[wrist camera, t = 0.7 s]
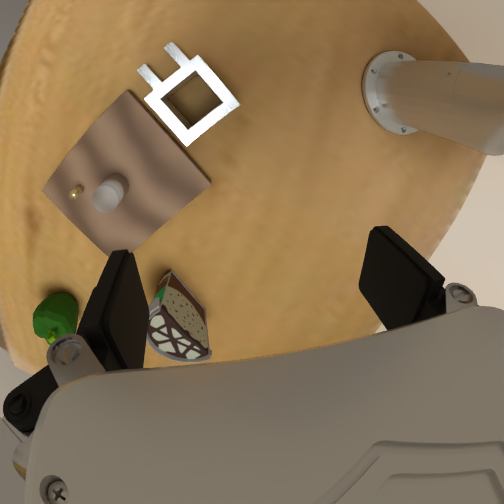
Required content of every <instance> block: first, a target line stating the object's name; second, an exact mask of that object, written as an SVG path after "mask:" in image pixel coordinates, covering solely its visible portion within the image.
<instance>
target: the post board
mask: <svg viewBox="0 0 504 504" xmlns="http://www.w3.org/2000/svg"><path fill="white" fill-rule="evenodd" d="M78 185H83V187H84V191H83V193H82V194H80V195H79V196H78V197H77V198H76V199H75V200H71V199H70V198H69V192H70V191H72V190H73V189H74V188H75V187H76V186H78ZM210 185H211V180H210V179H209V178H208V177H207V176H206V174H205V173H204V172H203V171H202V170H201V169H200V168H199V167H198V165H197V164H196V163H195V162H194V161H193V160H192V159H191V157H190V156H189V155H188V154H187V153H186V152H185V151H184V150H183V149H182V147H181V146H180V145H179V144H178V143H177V142H176V141H175V140H174V138H173V137H172V136H171V135H170V134H169V133H168V132H167V131H166V130H165V128H164V127H163V126H162V125H161V124H160V123H159V122H158V121H157V120H156V118H155V117H154V116H153V115H152V114H151V113H150V112H149V111H148V110H147V109H146V107H145V106H144V105H143V104H142V103H141V102H140V101H139V100H138V99H137V98H136V96H135V95H134V94H133V93H132V92H131V91H130V90H126V91H125V92H124V93H123V94H122V95H121V96H120V97H119V98H118V99H117V100H116V101H115V102H114V103H113V104H112V105H111V106H110V107H109V108H108V109H107V110H106V111H105V112H104V113H103V114H102V115H101V116H100V117H99V118H98V120H97V121H96V122H95V123H94V124H93V125H92V126H91V127H90V128H89V130H88V131H87V132H86V133H85V134H84V135H83V137H82V138H81V139H80V140H79V141H78V143H77V144H76V145H75V146H74V147H73V149H72V150H71V151H70V152H69V154H68V155H67V156H66V158H65V159H64V160H63V162H62V163H61V164H60V166H59V167H58V168H57V170H56V171H55V172H54V174H53V175H52V177H51V178H50V179H49V181H48V182H47V184H46V185H45V187H44V188H43V190H42V192H43V193H44V194H45V195H46V196H47V197H48V198H49V199H50V200H51V201H52V202H53V203H54V204H55V205H56V206H57V207H58V208H59V210H60V211H61V212H62V213H63V214H64V215H65V216H66V217H67V218H68V219H69V220H70V221H71V222H72V223H73V224H74V225H75V226H76V227H77V228H78V229H79V230H80V231H81V232H83V233H84V234H85V235H86V236H87V237H88V238H89V239H90V240H91V241H92V242H93V243H94V244H95V245H96V246H97V247H98V248H99V249H101V250H102V251H103V252H104V253H105V254H106V255H107V256H108V257H110V255H111V253H112V251H114V250H123V249H127V250H128V251H129V253H131V252H133V251H134V250H135V249H136V248H137V247H139V246H140V245H141V244H142V243H143V242H144V241H145V240H146V239H147V238H149V237H150V236H151V235H152V234H153V233H154V232H155V231H156V230H158V229H159V228H160V227H161V226H162V225H163V224H164V223H166V222H167V221H168V220H169V219H170V218H171V217H173V216H174V215H175V214H176V213H177V212H179V211H180V210H181V209H182V208H183V207H184V206H186V205H187V204H188V203H189V202H190V201H192V200H193V199H194V198H195V197H197V196H198V195H199V194H200V193H202V192H203V191H204V190H205V189H206V188H208V187H209V186H210Z"/></svg>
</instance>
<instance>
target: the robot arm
mask: <svg viewBox="0 0 504 504" xmlns="http://www.w3.org/2000/svg"><path fill="white" fill-rule="evenodd" d="M371 70H372V71H371ZM362 91H363V98H364V101H365V104H366V107H367V109H368V111H369V113H370V115H371V116H372V117H373V119H374V120H375V121H376V122H377V123H378V124H379V125H380V126H381V127H383V128H384V129H385V130H387V131H390V132H392V133H396V134H400V135H407V134H412V133H414V132H417V131H418V130H421V131H424V132H427V133H430V134H433V135H436V136H439V137H442V138H445V139H448V140H450V141H453V142H456V143H458V144H461V145H464V146H466V147H469V148H471V149H473V150H476V151H478V152H481V153H484V154H487V155H502V154H504V66H500V65H490V64H482V63H469V62H456V61H417V60H416V59H415V58H414V57H412V56H410V55H409V54H407V53H404V52H400V51H387V52H383V53H380V54H379V55H377V56H375V57H374V58H373V59H372V60H371V61H370V63H369V64H368V65H367V67H366V70H365V72H364V76H363V81H362ZM373 109H374V110H373ZM444 281H445V278H444V277H443V276H442V275H441V274H440V273H439V272H438V271H437V270H436V269H435V268H434V267H433V266H432V265H431V264H430V263H429V262H428V261H427V260H426V259H425V258H423V257H422V256H421V255H420V254H419V253H418V252H417V251H416V250H415V249H414V248H413V247H411V246H410V245H409V244H408V243H407V242H406V241H405V240H404V239H402V238H401V237H400V236H399V235H398V234H397V233H395V232H394V231H393V230H392V229H391V228H390V227H388V226H375V227H374V228H373V230H371V231H370V233H369V238H368V243H367V248H366V253H365V257H364V262H363V267H362V271H361V275H360V280H359V289H360V291H361V293H362V294H363V296H364V297H365V298H366V300H367V301H368V303H369V304H370V306H371V307H372V308H373V310H374V311H375V313H376V314H377V316H378V317H379V319H380V320H381V322H382V323H383V325H384V326H385V328H386V329H387V331H383V332H380V333H376V334H372V335H368V336H364V337H359V338H355V339H351V340H347V341H342V342H338V343H333V344H328V345H323V346H319V347H313V348H308V349H303V350H298V351H292V352H286V353H280V354H274V355H268V356H261V357H254V358H247V359H240V360H232V361H223V362H214V363H204V364H193V365H182V366H168V367H155V368H143V363H144V354H145V346H146V338H147V331H148V324H149V317H150V312H149V307H148V304H147V300H146V297H145V294H144V290H143V287H142V283H141V280H140V276H139V272H138V268H137V265H136V261H135V257H134V254H133V253H132V252H131V253H129V251H128V250H127V249H123V250H114V251H112V253H111V255H110V257H109V259H108V261H107V263H106V266H105V268H104V270H103V272H102V275H101V277H100V279H99V282H98V284H97V286H96V287H95V288H94V289H93V291H92V294H91V296H90V298H89V301H88V303H87V306H86V308H85V311H84V313H83V316H82V319H81V321H80V324H79V327H78V329H77V332H76V334H66V335H63V336H61V337H59V338H57V339H56V340H55V341H53V343H52V344H51V345H50V346H49V349H48V351H47V356H46V357H47V362H48V364H49V365H47V366H46V367H44V368H43V369H41V370H40V371H39V372H37V373H36V374H34V375H33V376H32V377H30V378H29V379H27V380H26V381H25V382H23V383H22V384H20V385H19V386H18V387H16V388H15V389H14V390H12V391H11V392H10V393H9V394H8V395H7V397H6V399H5V401H4V404H3V413H4V417H3V418H2V419H1V418H0V504H504V311H503V310H501V309H498V308H495V307H486V306H478V305H477V300H476V296H475V294H474V293H473V292H472V291H471V290H470V289H469V288H468V287H466V286H465V285H462V284H459V283H450V284H448V285H447V286H446V288H445V289H444V288H443V284H444Z"/></svg>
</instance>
